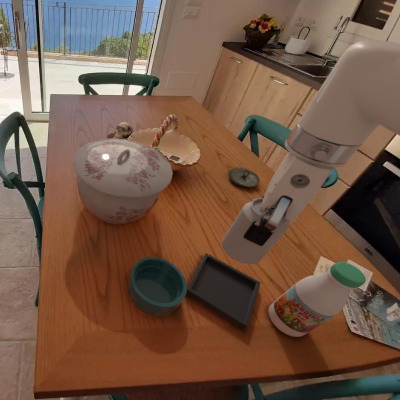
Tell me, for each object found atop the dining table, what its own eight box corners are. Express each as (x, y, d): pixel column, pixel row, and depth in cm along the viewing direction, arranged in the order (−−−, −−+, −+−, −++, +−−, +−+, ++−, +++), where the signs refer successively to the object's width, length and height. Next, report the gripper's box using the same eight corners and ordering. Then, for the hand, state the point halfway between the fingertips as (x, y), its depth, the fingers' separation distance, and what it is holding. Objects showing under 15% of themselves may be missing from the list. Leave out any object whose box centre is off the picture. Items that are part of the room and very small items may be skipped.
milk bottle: (268, 297, 65) (323, 247, 51) (304, 314, 62) (373, 266, 48) (266, 325, 60) (327, 277, 46) (305, 345, 57) (383, 300, 43)
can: (262, 271, 51) (301, 230, 43) (220, 260, 52) (250, 217, 44) (256, 242, 56) (289, 200, 48) (219, 232, 58) (245, 190, 50)
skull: (127, 149, 109) (115, 126, 106) (110, 155, 117) (99, 134, 115) (142, 138, 115) (132, 116, 113) (125, 145, 124) (115, 124, 121)
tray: (256, 286, 67) (260, 282, 65) (243, 330, 59) (247, 326, 57) (202, 257, 72) (205, 252, 71) (184, 293, 64) (187, 289, 63)
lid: (250, 178, 103) (254, 165, 101) (263, 189, 94) (269, 176, 92) (222, 176, 104) (226, 164, 101) (233, 187, 95) (237, 174, 93)
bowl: (187, 287, 65) (194, 276, 62) (166, 329, 58) (173, 319, 54) (142, 259, 71) (146, 248, 67) (117, 294, 63) (120, 283, 60)
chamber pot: (70, 240, 74) (74, 181, 60) (70, 178, 94) (72, 124, 80) (169, 241, 76) (195, 185, 62) (148, 180, 96) (164, 127, 82)
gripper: (354, 184, 31) (271, 270, 42) (352, 130, 41) (286, 211, 53) (281, 159, 34) (223, 246, 46) (296, 115, 44) (246, 195, 56)
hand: (257, 227), depth 49 cm, fingers closed on can, 7 cm apart
